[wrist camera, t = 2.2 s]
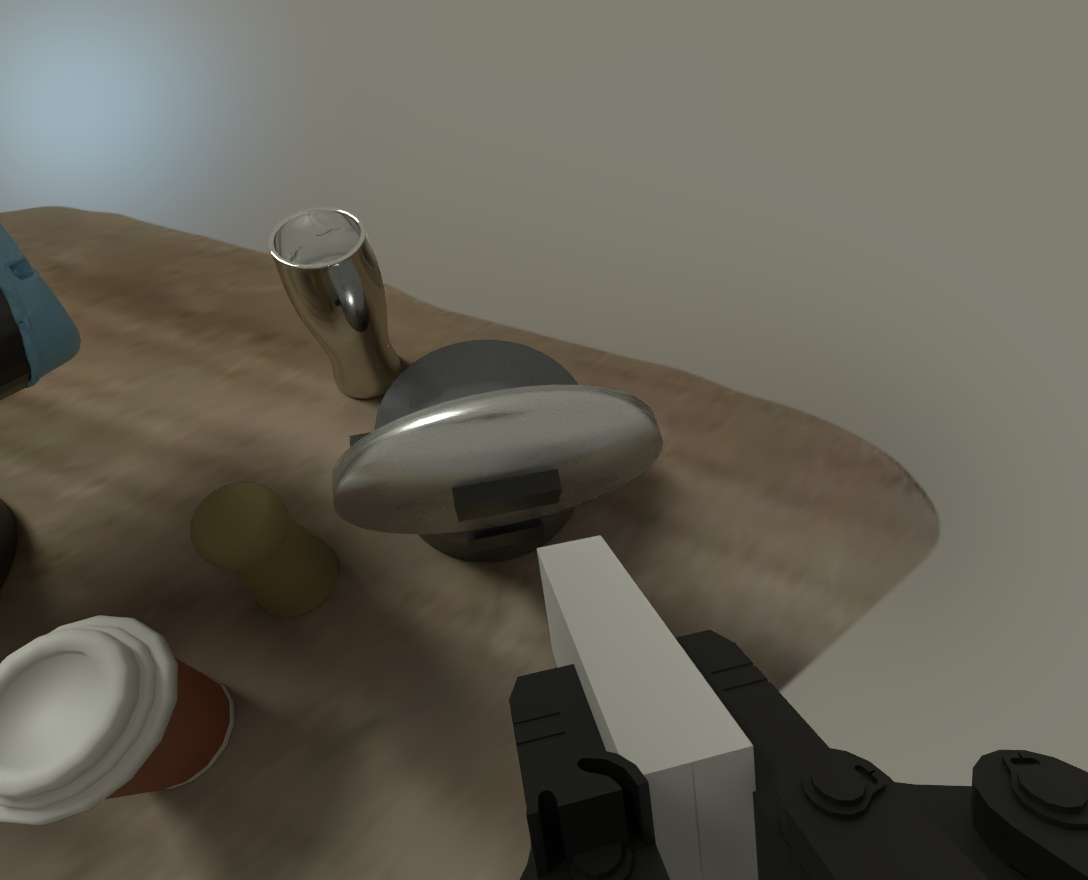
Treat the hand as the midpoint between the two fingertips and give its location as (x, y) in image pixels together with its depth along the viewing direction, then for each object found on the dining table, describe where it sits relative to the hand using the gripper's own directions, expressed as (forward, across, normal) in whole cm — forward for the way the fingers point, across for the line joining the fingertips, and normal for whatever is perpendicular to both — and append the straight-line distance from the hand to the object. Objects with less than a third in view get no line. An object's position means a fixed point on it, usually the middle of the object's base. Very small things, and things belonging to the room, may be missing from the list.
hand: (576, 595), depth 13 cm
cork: (+29, -16, -10) cm, 35 cm away
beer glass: (+42, -10, +3) cm, 43 cm away
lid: (+15, 0, -1) cm, 15 cm away
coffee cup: (+23, -23, -16) cm, 36 cm away
